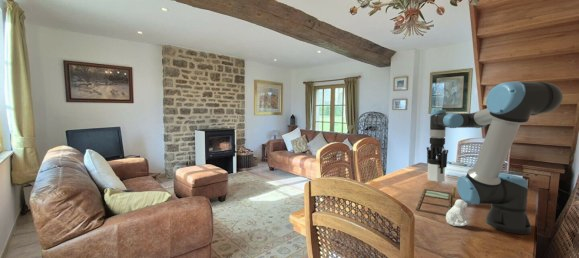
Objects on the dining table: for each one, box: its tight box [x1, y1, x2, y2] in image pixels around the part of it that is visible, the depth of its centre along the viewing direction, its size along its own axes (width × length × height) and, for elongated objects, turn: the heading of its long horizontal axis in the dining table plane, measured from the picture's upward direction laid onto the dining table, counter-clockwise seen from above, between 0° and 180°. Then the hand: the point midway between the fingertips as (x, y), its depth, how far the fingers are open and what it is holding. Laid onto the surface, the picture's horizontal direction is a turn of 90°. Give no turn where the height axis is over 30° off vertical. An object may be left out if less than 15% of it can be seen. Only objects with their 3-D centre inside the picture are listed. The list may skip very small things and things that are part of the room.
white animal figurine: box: [445, 198, 471, 227], centre depth 112 cm, size 6×8×12 cm
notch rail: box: [415, 186, 456, 217], centre depth 143 cm, size 43×17×6 cm, turn 147°
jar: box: [427, 157, 446, 183], centre depth 143 cm, size 9×8×12 cm
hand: (436, 178), depth 143 cm, fingers closed on jar, 4 cm apart
